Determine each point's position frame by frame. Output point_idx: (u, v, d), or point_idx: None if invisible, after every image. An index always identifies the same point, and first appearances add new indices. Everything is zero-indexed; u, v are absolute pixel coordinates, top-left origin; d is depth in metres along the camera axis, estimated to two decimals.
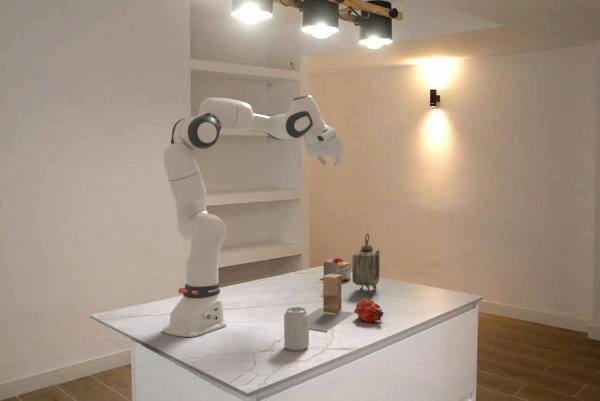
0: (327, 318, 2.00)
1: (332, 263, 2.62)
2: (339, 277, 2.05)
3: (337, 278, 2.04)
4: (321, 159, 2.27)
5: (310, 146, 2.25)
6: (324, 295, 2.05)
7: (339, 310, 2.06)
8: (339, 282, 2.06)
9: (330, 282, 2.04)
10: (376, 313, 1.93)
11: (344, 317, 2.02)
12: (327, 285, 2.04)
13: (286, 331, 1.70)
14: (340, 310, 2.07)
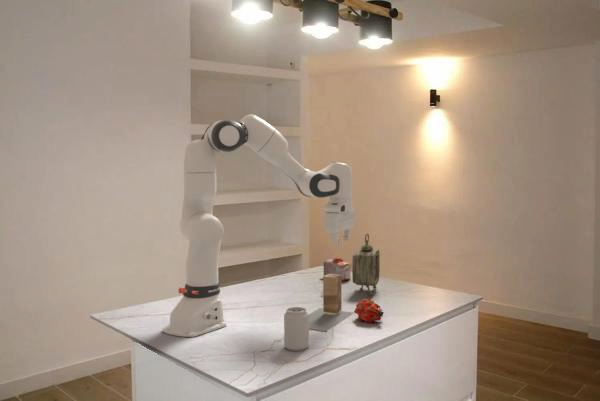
0: (327, 318, 2.00)
1: (332, 263, 2.62)
2: (339, 277, 2.05)
3: (337, 278, 2.04)
4: (346, 234, 2.16)
5: None
6: (324, 295, 2.05)
7: (339, 310, 2.06)
8: (339, 282, 2.06)
9: (330, 282, 2.04)
10: (376, 313, 1.93)
11: (344, 317, 2.02)
12: (327, 285, 2.04)
13: (286, 331, 1.70)
14: (340, 310, 2.07)
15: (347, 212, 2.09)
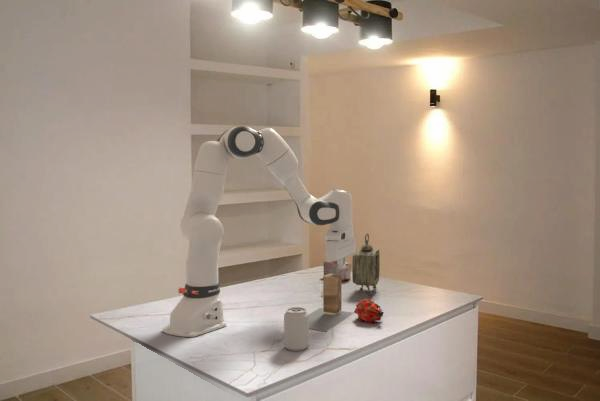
0: (327, 318, 2.00)
1: (332, 263, 2.62)
2: (339, 277, 2.05)
3: (337, 278, 2.04)
4: (342, 261, 2.14)
5: None
6: (324, 295, 2.05)
7: (339, 310, 2.06)
8: (339, 282, 2.06)
9: (330, 282, 2.04)
10: (376, 313, 1.93)
11: (344, 317, 2.02)
12: (327, 285, 2.04)
13: (286, 331, 1.70)
14: (340, 310, 2.07)
15: (347, 239, 2.10)
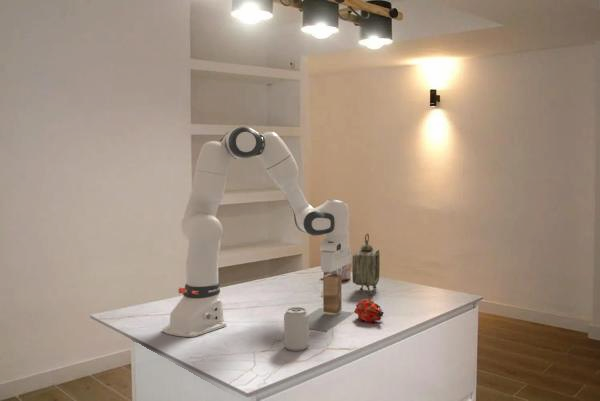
0: (327, 318, 2.00)
1: None
2: (339, 277, 2.05)
3: (337, 278, 2.04)
4: (338, 272, 2.11)
5: None
6: (324, 295, 2.05)
7: (339, 310, 2.06)
8: (339, 282, 2.06)
9: (330, 282, 2.04)
10: (376, 313, 1.93)
11: (344, 317, 2.02)
12: (327, 285, 2.04)
13: (286, 331, 1.70)
14: (340, 310, 2.07)
15: (343, 250, 2.07)
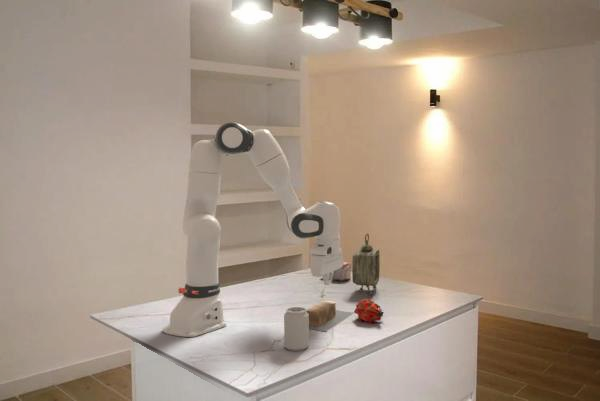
0: None
1: None
2: (319, 316, 1.92)
3: (319, 321, 1.92)
4: (329, 277, 2.04)
5: None
6: None
7: (334, 307, 2.02)
8: (321, 315, 1.93)
9: None
10: (376, 313, 1.93)
11: (344, 317, 2.02)
12: None
13: (286, 331, 1.70)
14: (334, 305, 2.03)
15: (334, 254, 2.00)
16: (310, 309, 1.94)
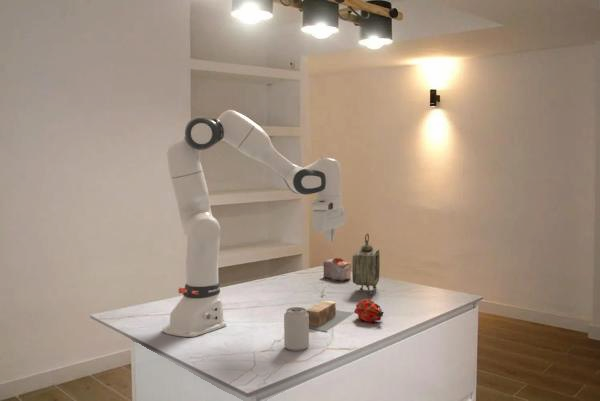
0: None
1: (332, 263, 2.63)
2: (319, 316, 1.92)
3: (319, 321, 1.92)
4: (331, 234, 2.03)
5: None
6: None
7: (334, 307, 2.02)
8: (321, 315, 1.93)
9: None
10: (376, 313, 1.93)
11: (344, 317, 2.02)
12: None
13: (286, 331, 1.70)
14: (334, 305, 2.03)
15: (336, 210, 1.99)
16: (310, 309, 1.94)
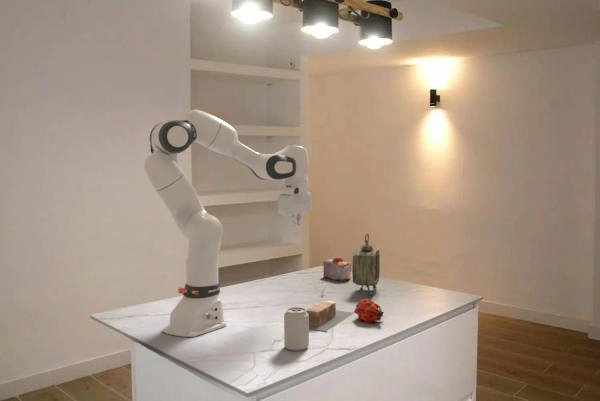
0: None
1: (332, 263, 2.63)
2: (319, 316, 1.92)
3: (319, 321, 1.92)
4: (297, 218, 2.12)
5: None
6: None
7: (334, 307, 2.02)
8: (321, 315, 1.93)
9: None
10: (376, 313, 1.93)
11: (344, 317, 2.02)
12: None
13: (286, 331, 1.70)
14: (334, 305, 2.03)
15: (302, 195, 2.08)
16: (310, 309, 1.94)
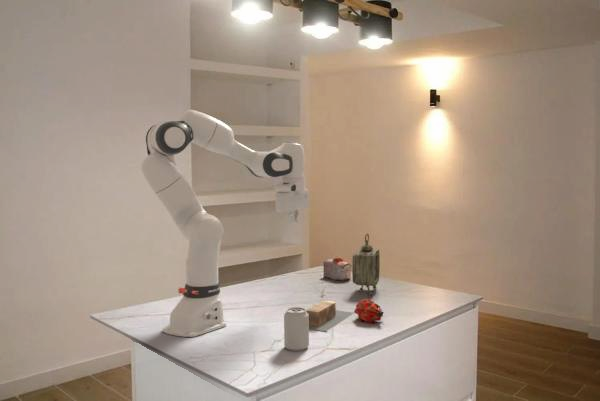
0: None
1: (332, 263, 2.63)
2: (319, 316, 1.92)
3: (319, 321, 1.92)
4: (295, 215, 2.12)
5: None
6: None
7: (334, 307, 2.02)
8: (321, 315, 1.93)
9: None
10: (376, 313, 1.93)
11: (344, 317, 2.02)
12: None
13: (286, 331, 1.70)
14: (334, 305, 2.03)
15: (299, 192, 2.09)
16: (310, 309, 1.94)
